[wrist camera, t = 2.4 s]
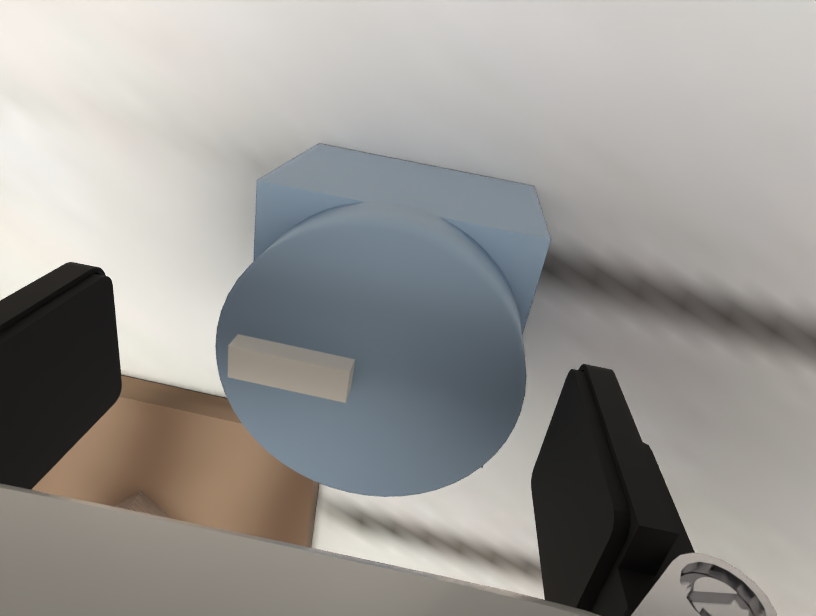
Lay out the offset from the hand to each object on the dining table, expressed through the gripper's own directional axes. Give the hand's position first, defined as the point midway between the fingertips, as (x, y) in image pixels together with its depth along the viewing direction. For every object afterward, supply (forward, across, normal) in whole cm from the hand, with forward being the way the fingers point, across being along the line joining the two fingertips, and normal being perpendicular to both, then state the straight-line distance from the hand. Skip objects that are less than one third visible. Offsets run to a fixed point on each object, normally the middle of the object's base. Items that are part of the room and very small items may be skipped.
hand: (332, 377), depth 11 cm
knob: (+7, -1, 0) cm, 8 cm away
